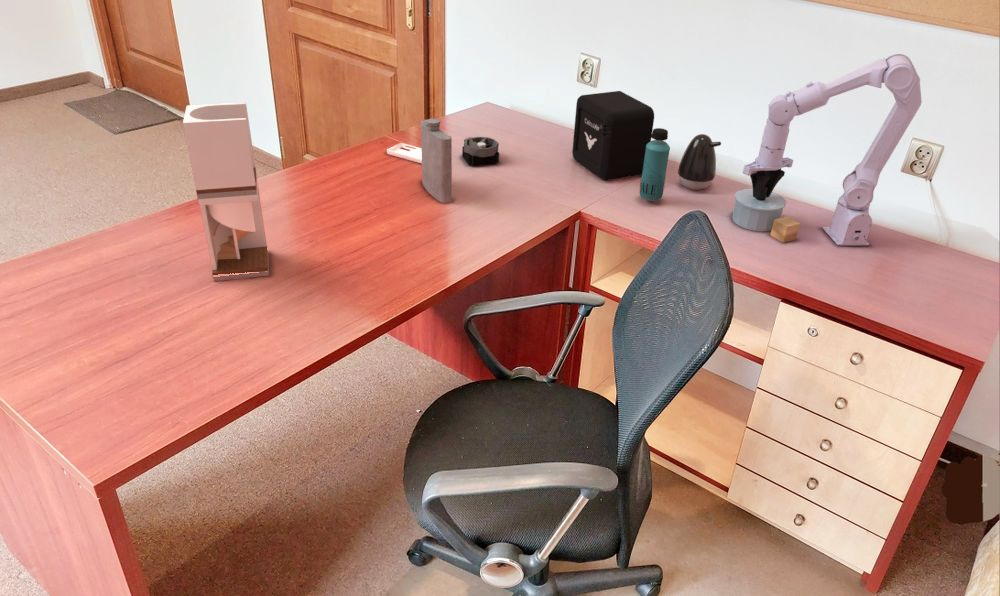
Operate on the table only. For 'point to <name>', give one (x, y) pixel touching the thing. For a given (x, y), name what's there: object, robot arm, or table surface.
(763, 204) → the lid
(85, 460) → the table surface
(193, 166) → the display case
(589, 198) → the table surface
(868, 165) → the robot arm
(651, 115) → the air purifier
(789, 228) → the block
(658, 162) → the beverage bottle
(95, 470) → the table surface
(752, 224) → the tin
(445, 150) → the hip flask
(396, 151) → the phone case
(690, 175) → the pump dispenser
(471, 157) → the cpu cooler
